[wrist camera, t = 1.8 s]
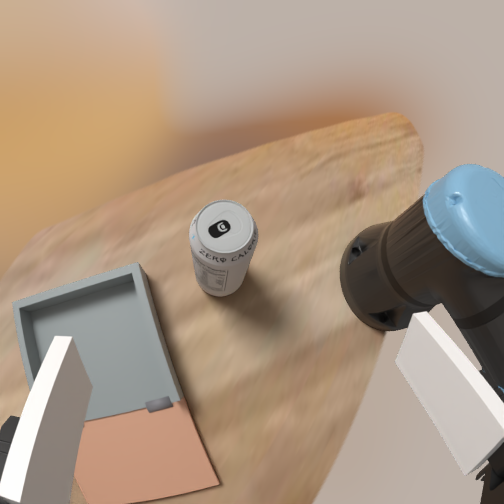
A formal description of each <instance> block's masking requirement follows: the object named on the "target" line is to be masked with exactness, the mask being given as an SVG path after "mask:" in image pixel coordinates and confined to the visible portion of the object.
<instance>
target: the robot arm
mask: <svg viewBox="0 0 504 504" xmlns="http://www.w3.org/2000/svg"><path fill="white" fill-rule="evenodd" d="M340 281H341V287H342V291H343V294H344V296H345V299H346V301H347V303H348V305H349V306H350V308H351V309H352V311H353V312H354V313H355V314H356V315H357V317H358V318H360V319H361V320H362V321H363V322H364V323H366V324H367V325H369V326H371V327H373V328H375V329H378V330H383V331H396V330H401V329H404V328H408V329H407V332H406V334H405V337H404V340H403V342H402V345H401V348H400V350H399V353H398V355H397V358H396V360H395V363H396V365H397V366H398V368H399V369H400V371H401V372H402V374H403V376H404V377H405V379H406V380H407V382H408V383H409V385H410V386H411V388H412V389H413V391H414V393H415V394H416V395H417V397H418V399H419V401H420V402H421V403H422V405H423V407H424V409H425V410H426V412H427V413H428V415H429V417H430V418H431V420H432V421H433V423H434V425H435V426H436V428H437V430H438V431H439V433H440V434H441V436H442V438H443V440H444V441H445V443H446V444H447V446H448V448H449V450H450V452H451V453H452V455H453V457H454V458H455V460H456V462H457V464H458V465H459V467H460V469H461V471H462V472H463V474H464V476H466V475H467V474H469V473H471V472H473V471H474V470H476V469H478V468H479V467H480V466H481V465H482V464H483V463H484V462H485V461H486V460H488V461H489V464H488V465H487V466H485V467H484V468H483V469H482V470H481V471H480V472H479V473H478V475H477V476H476V480H478V479H479V478H480V477H481V476H482V475H484V474H485V476H483V478H482V479H481V481H484V486H483V491H482V497H481V503H480V504H504V177H502V176H501V175H500V174H498V173H497V172H495V171H493V170H491V169H489V168H484V167H482V166H480V165H476V164H466V165H461V166H458V167H456V168H454V169H453V170H451V171H450V172H449V173H448V174H446V175H445V176H444V177H443V178H441V179H439V180H436V181H435V182H433V183H432V184H431V185H430V186H429V188H428V189H427V190H426V192H425V194H424V195H423V196H422V197H421V198H419V199H418V200H417V201H416V202H415V203H414V204H413V205H411V206H410V207H409V208H408V209H407V210H405V211H404V212H403V213H402V214H401V215H400V216H398V217H397V218H396V219H395V220H394V221H390V222H385V223H381V224H376V225H373V226H370V227H368V228H366V229H364V230H363V231H362V232H360V233H359V234H358V235H357V236H356V237H355V238H354V239H353V240H352V241H351V242H350V243H349V244H348V246H347V248H346V249H345V251H344V254H343V256H342V260H341V265H340ZM440 303H442V304H443V305H444V307H445V308H446V310H447V311H448V313H449V314H450V316H451V317H452V319H453V320H454V322H455V323H456V325H457V327H458V328H459V329H460V331H461V333H462V334H463V336H464V338H465V339H466V341H467V343H468V344H469V346H470V348H471V349H472V350H473V353H474V354H475V356H476V358H477V359H478V361H479V363H480V365H481V366H482V370H480V371H478V370H477V369H476V368H475V366H474V365H473V364H472V363H471V362H470V360H469V359H468V358H467V357H466V356H465V354H464V353H463V352H462V351H461V350H460V349H459V347H458V346H457V345H456V344H455V343H454V342H453V341H452V339H450V337H449V336H448V335H447V334H446V332H445V331H444V330H443V329H442V328H441V327H440V326H439V325H438V323H437V322H436V321H435V320H434V319H433V318H432V317H431V316H430V315H429V313H428V312H429V311H430V310H431V309H432V308H433V307H434V306H435V305H437V304H440ZM92 389H93V386H92V384H91V382H90V379H89V377H88V375H87V372H86V370H85V368H84V365H83V363H82V360H81V358H80V355H79V353H78V350H77V347H76V345H75V342H74V339H73V337H70V336H55V337H54V339H53V341H52V343H51V345H50V347H49V350H48V352H47V354H46V356H45V358H44V361H43V363H42V365H41V367H40V370H39V372H38V374H37V377H36V379H35V381H34V384H33V386H32V389H31V391H30V394H29V396H28V399H27V401H26V404H25V407H24V409H23V412H22V415H21V417H15V416H10V417H9V418H8V419H7V421H6V422H5V423H4V424H3V425H2V427H1V430H0V504H70V496H71V489H72V483H73V477H74V471H75V465H76V460H77V454H78V449H79V444H80V440H81V435H82V430H83V426H84V421H85V417H86V413H87V408H88V404H89V400H90V396H91V392H92Z"/></svg>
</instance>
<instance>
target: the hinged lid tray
mask: <svg viewBox="0 0 504 504" xmlns="http://www.w3.org/2000/svg"><path fill="white" fill-rule="evenodd" d="M12 304H13V312H14V318H15V325H16V331H17V336H18V341H19V347H20V351H21V356H22V361H23V365H24V369H25V373H26V377H27V381H28V385H29V389H30V391H31V389H32V386H33V384H34V381H35V379H36V377H37V374H38V372H39V370H40V367H41V365H42V363H43V361H44V358H45V356H46V354H47V352H48V350H49V347H50V345H51V343H52V341H53V339H54V337H55V336H70V337H73V339H74V342H75V345H76V347H77V350H78V353H79V355H80V358H81V360H82V363H83V365H84V368H85V370H86V372H87V375H88V377H89V379H90V382H91V384H92V386H93V389H92V392H91V396H90V400H89V404H88V408H87V413H86V417H85V421H84V426H83V430H82V435H81V440H80V444H79V449H78V454H77V460H76V465H75V471H74V476H75V479H76V481H77V483H78V485H79V487H80V489H81V491H82V493H83V495H84V497H85V499H86V501H87V503H88V504H127V503H135V502H141V501H147V500H153V499H159V498H164V497H169V496H174V495H179V494H183V493H187V492H192V491H196V490H200V489H204V488H208V487H211V486H215V485H219V480H218V478H217V475H216V473H215V471H214V469H213V467H212V464H211V462H210V460H209V458H208V455H207V453H206V451H205V448H204V446H203V443H202V441H201V439H200V436H199V434H198V431H197V429H196V426H195V424H194V421H193V419H192V416H191V414H190V411H189V408H188V406H187V403H186V400H185V398H184V395H183V392H182V390H181V387H180V384H179V381H178V378H177V375H176V373H175V370H174V367H173V364H172V361H171V358H170V355H169V352H168V349H167V346H166V342H165V339H164V336H163V333H162V330H161V326H160V323H159V320H158V316H157V313H156V309H155V306H154V303H153V299H152V295H151V292H150V288H149V284H148V281H147V277H146V273H145V271H144V270H143V269H142V267H141V266H140V264H139V263H138V262H137V263H134V264H130V265H127V266H124V267H121V268H117V269H114V270H111V271H108V272H104V273H101V274H98V275H95V276H92V277H89V278H85V279H82V280H79V281H76V282H73V283H70V284H67V285H63V286H60V287H57V288H54V289H51V290H48V291H45V292H42V293H39V294H36V295H33V296H30V297H27V298H24V299H21V300H18V301H15V302H12Z"/></svg>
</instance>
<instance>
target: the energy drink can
mask: <svg viewBox="0 0 504 504" xmlns="http://www.w3.org/2000/svg"><path fill="white" fill-rule="evenodd" d="M189 240H190V246H191V252H192V258H193V263H194V269H195V275H196V279H197V282H198V284H199V285H200V287H201V288H202V289H203V290H204V291H205V292H207V293H209V294H211V295H214V296H226V295H230V294H232V293H234V292H235V291H236V290H237V289H238V288H239V287H240V286H241V284H242V282H243V280H244V277H245V274H246V272H247V269H248V266H249V264H250V261H251V258H252V256H253V253H254V250H255V248H256V245H257V242H258V229H257V226H256V223H255V221H254V219H253V218H252V216H251V215H250V213H249V212H248V210H247V209H246V208H245V207H243V206H242V205H241V204H239V203H237V202H234V201H231V200H218V201H214V202H211V203H209V204H208V205H206V206H205V207H204V208H203V209H202V210H201V211H200V212H199V213H198V214H197V215H196V216H195V217H194V219H193V220H192V223H191V225H190V230H189Z"/></svg>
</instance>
